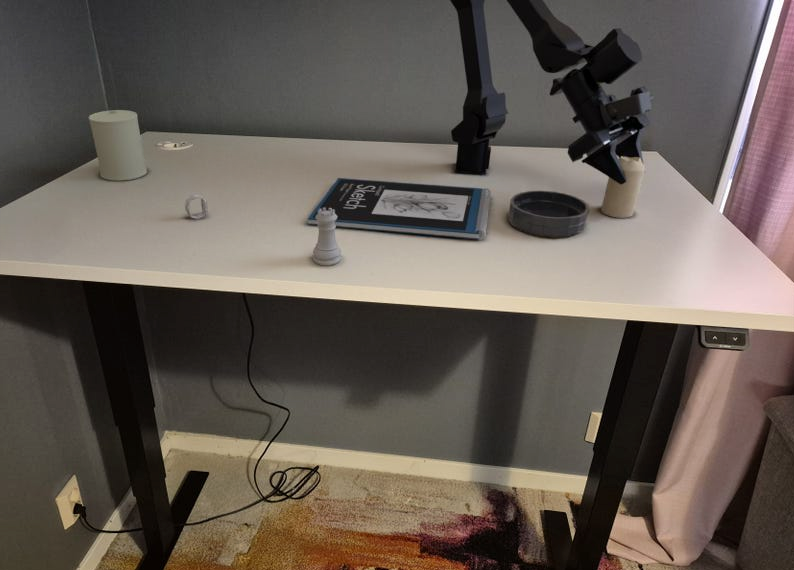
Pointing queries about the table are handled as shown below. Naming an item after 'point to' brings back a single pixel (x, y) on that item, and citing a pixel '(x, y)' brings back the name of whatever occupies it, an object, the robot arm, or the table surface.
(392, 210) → the sketchbook
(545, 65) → the robot arm
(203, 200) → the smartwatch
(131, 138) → the can
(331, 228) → the rook chess piece
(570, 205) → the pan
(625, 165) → the candle
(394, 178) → the table surface
